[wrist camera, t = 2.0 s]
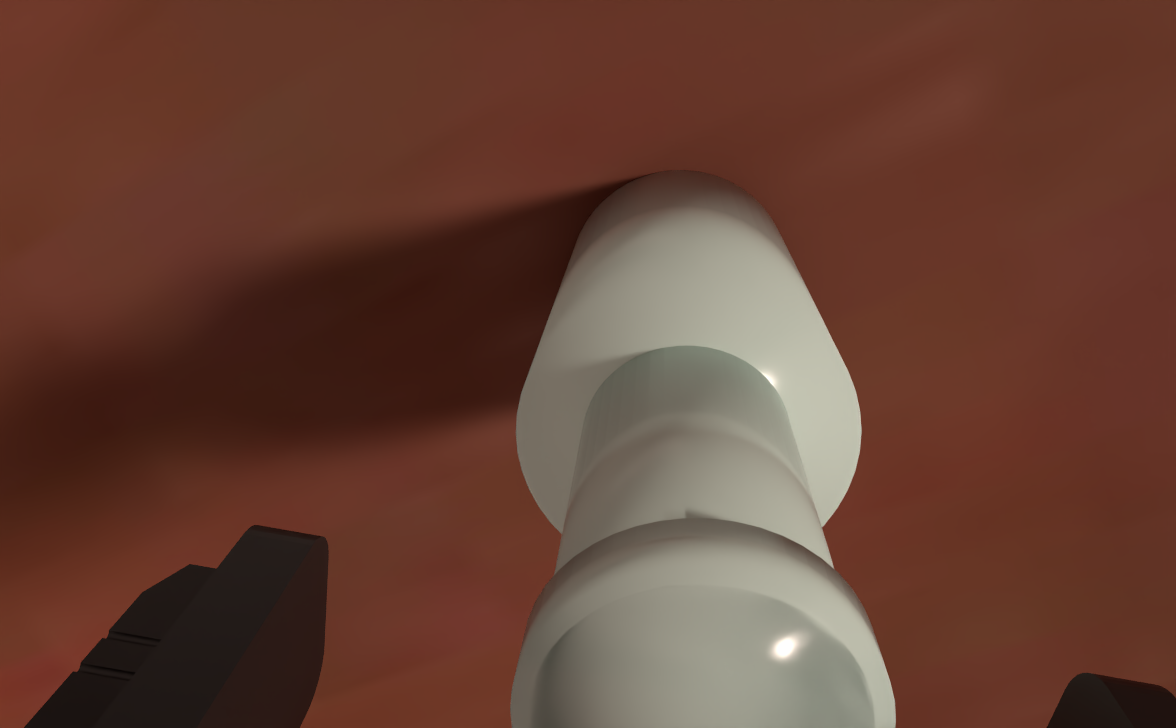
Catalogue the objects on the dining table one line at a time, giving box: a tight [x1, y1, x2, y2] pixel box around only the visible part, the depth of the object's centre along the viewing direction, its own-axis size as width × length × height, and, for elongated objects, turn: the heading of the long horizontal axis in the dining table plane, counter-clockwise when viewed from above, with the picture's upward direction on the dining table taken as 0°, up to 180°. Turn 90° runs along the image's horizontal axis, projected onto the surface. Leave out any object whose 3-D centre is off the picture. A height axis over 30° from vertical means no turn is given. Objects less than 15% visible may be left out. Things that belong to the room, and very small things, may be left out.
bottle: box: [510, 170, 896, 728], centre depth 15 cm, size 6×6×15 cm
